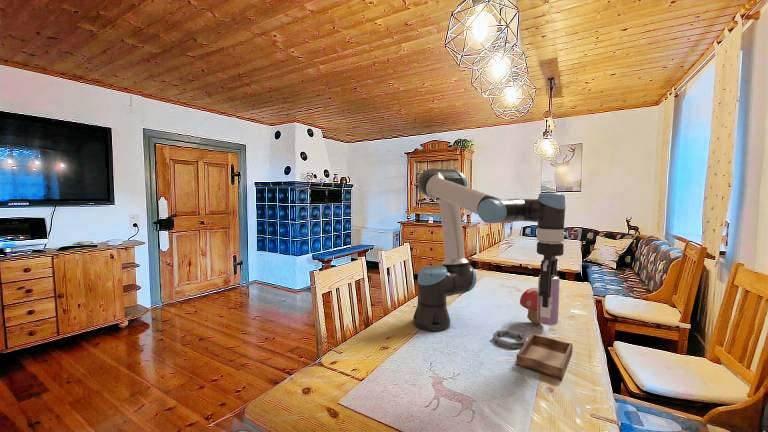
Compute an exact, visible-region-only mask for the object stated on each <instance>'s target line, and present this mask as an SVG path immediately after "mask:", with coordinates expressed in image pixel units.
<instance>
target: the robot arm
mask: <svg viewBox="0 0 768 432" xmlns="http://www.w3.org/2000/svg"><path fill="white" fill-rule="evenodd" d="M417 187H418V189H419V191H420V193H421V194H423V196H427V197H429V198H432V199H435V202H436V203H437V204H438V205H439V208H440V219H441V230H442V241H443V242H442V243H443V251H444V252H443V253H444V260H443V261H442V262H441V265H440V264H439V265H438V264H435V265H432V264H431V265H427V266H423V267H421V268H420V269H419V270H418V273H417V281H416V282H417V305H416V308H415V311H414V314H413V316H412V317H413V318H412V324H413V325H414V326H415V328H417V329H420V330H423V331H427V332H442V331H446V330H448V329H450V327H451V318H450V314H449V312H448V309H447V297H450V296H451V297H452V296H456V295H460V294H461V295H462V294H466V293H468V292H471V291H472V290H473V289H474V288H475V286H476V283H477V273H476V270H475V269H474V267H473V266H471V265H470V260H468V259H467V258H466V255H465V254H466V253H465V245H464V234H463V233H464V232H463V231H464V230H463V224H462V223H463V222H462V211H461V209H463V210H465V211H468V212H471V213H472V214H475V215H476V216H477V215H478V217H479V218H480V219H481V221H482V222H484V223H487V224H498V223H510V222H511V223H513V222H533V223H537V230H536V231H537V232H536V240H537V242H536V253H537V254H538V255H542V256H543V258H542V260H541V261H540V264H539V266H540V274H539V275H540V293H539V294H538V296H541V310H540V316H542V317H546V318H550V313H551V297H550V296H551V295H550V292H551V280H552V276H554V275H555V276H558V261H559V259H558V258H557V257H561V256H564V251H565V250H564V247H565V246H564V245H565V244H563V242H564V241H565V236H567V232H566V231H565V220H566V219H565V217H566V216H565V215H566V209H567V206H566V195H565V194H564V193H562V192H541V193H539V194H538V196H537V198H533V199H532V198H507V199H506V198H499V197H495V196H492V195H490V194H487V193H484V192H481V191H479V190H476V189H474V188H471V187H468V180H467V178H466V175H465V174H464V173H462V171H460V170H457V169H452V168H450V169H448V168H435V167H434V168H433V167H432V168H427V169H425V170H423V171H422V172H421V173H420V175H419V177H418V179H417ZM564 231H565V232H564Z"/></svg>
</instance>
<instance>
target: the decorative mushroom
mask: <svg viewBox="0 0 768 432" xmlns="http://www.w3.org/2000/svg"><path fill="white" fill-rule="evenodd" d="M519 304H520V306H521V307H523V308H524V309H527V319H528V320H529V321H530V323H532V324H534V325H537V326H538V325H542V324H541V323H540V322H539V321H538V320H537V305H538V287H531V288H528V289H526V290H525V291H523V293H522V294H521V296H520V297H519Z"/></svg>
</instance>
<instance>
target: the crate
mask: <svg viewBox="0 0 768 432" xmlns="http://www.w3.org/2000/svg"><path fill="white" fill-rule="evenodd" d="M573 347H574V346H573V343H571V342H567V341H563V340H560V339H556V338H552V337H547V336H544V335H540V334H537V333H531V335H530V336H529V337H528V339H527V341H526V343H525V344H524V346H523V347H522V348H520V350H519V351H518V352H517V353H516V359H515V360H516V362H515V363H516V364H515V366H516V367H518V368H522V369H525V370H529V371H531V372H535V373H536V374H537V373H538V374H541V375H544V376H547V377H550V378H553V379H556V380H558V381H559V380H560V381H563V379H564V377H565V374H566V372H567V368H568V366H569V363H570V361H571V359H572V355H573V349H574V348H573Z"/></svg>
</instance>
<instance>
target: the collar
mask: <svg viewBox="0 0 768 432" xmlns="http://www.w3.org/2000/svg"><path fill="white" fill-rule="evenodd" d="M492 336H493V337H492V340H493V341H494V342H495V343H496V344H497V345H498V346H501V347H504V348H507V349H514V350H515V349H521V348H522V347H523V346H524V344H525V343H526V341H527V340H528V339H527V337H525V336H524V335H523V334H522V333H520V332H516V331H512V330H509V329H508V330H507V329H506V330H503V329H501V330H496V331H495V332H494V333H493V334H492ZM500 337H510V338H514V339H518V340H519V341H514V342H513V341H509V340H505V339H502V338H500Z"/></svg>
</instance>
